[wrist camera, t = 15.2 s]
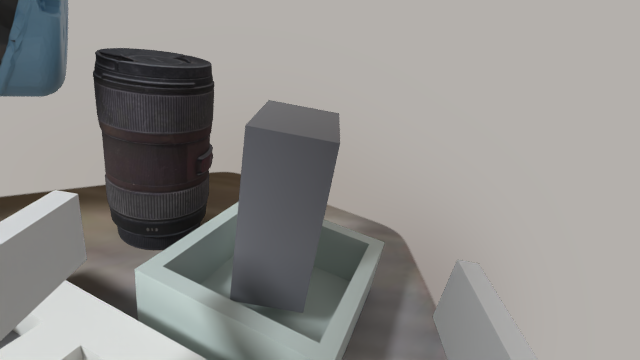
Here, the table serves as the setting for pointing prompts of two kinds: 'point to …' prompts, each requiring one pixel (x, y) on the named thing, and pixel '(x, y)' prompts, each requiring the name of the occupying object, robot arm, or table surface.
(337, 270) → the bin
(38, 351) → the strip
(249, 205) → the tall grey pillar
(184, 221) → the camera lens
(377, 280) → the table surface
